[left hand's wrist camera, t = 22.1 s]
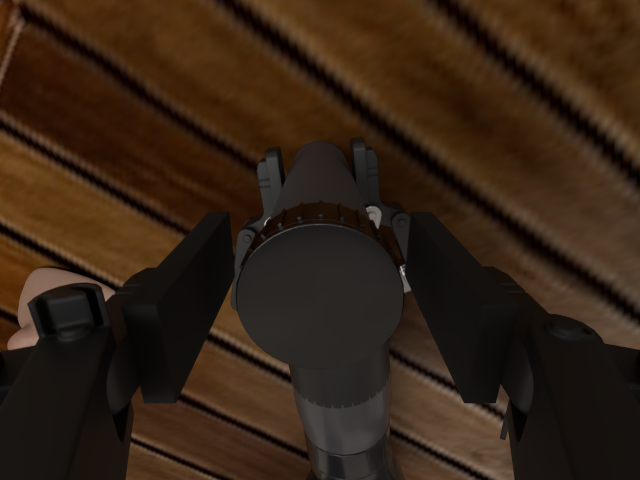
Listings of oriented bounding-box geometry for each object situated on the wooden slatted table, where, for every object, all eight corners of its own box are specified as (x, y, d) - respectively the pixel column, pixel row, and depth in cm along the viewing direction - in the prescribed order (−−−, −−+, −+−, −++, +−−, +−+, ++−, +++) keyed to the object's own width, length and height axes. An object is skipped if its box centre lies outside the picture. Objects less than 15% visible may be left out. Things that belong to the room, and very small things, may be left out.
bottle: (301, 202, 29) (273, 359, 12) (285, 149, 28) (226, 242, 10) (353, 188, 29) (403, 331, 11) (340, 134, 27) (375, 204, 10)
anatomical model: (-36, 285, 28) (116, 298, 28) (6, 263, 31) (140, 274, 32) (4, 414, 32) (133, 423, 33) (36, 381, 36) (152, 390, 37)
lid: (250, 189, 11) (236, 209, 9) (408, 210, 11) (426, 233, 9) (242, 323, 13) (228, 362, 11) (378, 338, 13) (387, 379, 11)
